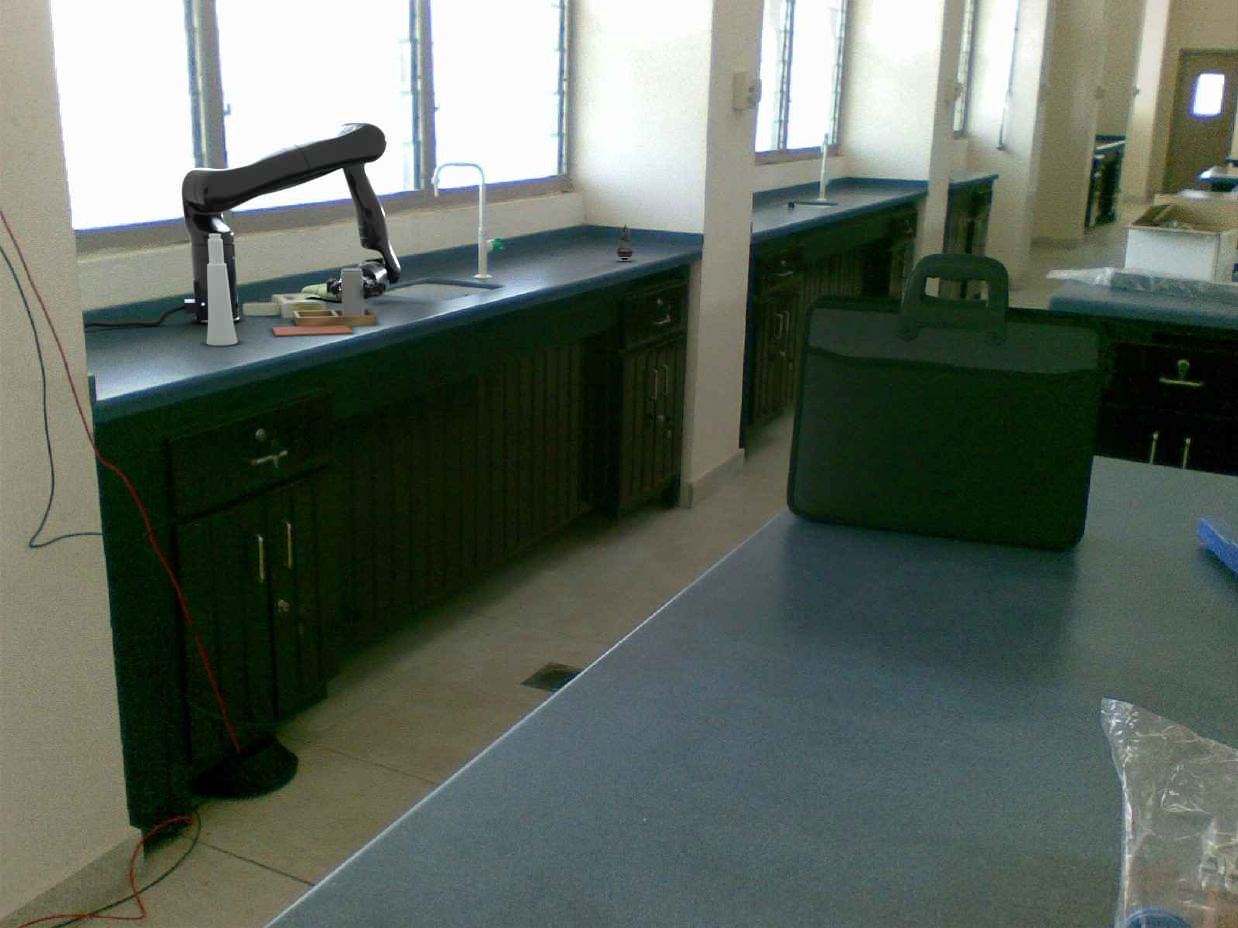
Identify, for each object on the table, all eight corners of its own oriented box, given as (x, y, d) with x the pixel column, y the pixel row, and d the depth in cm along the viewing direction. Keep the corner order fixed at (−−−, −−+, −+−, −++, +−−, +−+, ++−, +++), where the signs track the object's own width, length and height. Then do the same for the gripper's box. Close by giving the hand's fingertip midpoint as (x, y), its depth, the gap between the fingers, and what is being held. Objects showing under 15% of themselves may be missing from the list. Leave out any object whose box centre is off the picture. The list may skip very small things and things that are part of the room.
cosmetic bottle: (243, 343, 245) (236, 234, 239) (216, 347, 241) (208, 236, 234) (227, 339, 249) (220, 231, 243) (200, 342, 245) (192, 233, 238)
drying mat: (275, 336, 253) (275, 334, 253) (272, 329, 261) (272, 327, 261) (352, 333, 259) (352, 332, 258) (347, 326, 267) (347, 324, 267)
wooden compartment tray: (297, 327, 264) (297, 317, 263) (294, 320, 272) (293, 310, 272) (376, 325, 270) (376, 315, 269) (370, 318, 278) (370, 308, 277)
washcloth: (382, 294, 313) (381, 282, 312) (338, 303, 298) (338, 290, 297) (342, 290, 318) (341, 278, 318) (297, 298, 303) (296, 285, 302)
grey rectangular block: (359, 324, 270) (357, 271, 266) (339, 323, 271) (337, 269, 267) (367, 321, 274) (366, 268, 271) (347, 319, 275) (346, 267, 272)
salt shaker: (636, 261, 398) (637, 224, 394) (627, 262, 393) (628, 225, 390) (621, 259, 401) (622, 223, 397) (612, 261, 396) (613, 224, 393)
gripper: (334, 263, 283) (317, 272, 267) (395, 265, 283) (381, 274, 267) (335, 295, 285) (318, 306, 269) (396, 297, 285) (382, 308, 269)
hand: (350, 290), depth 268 cm, fingers open, 6 cm apart
